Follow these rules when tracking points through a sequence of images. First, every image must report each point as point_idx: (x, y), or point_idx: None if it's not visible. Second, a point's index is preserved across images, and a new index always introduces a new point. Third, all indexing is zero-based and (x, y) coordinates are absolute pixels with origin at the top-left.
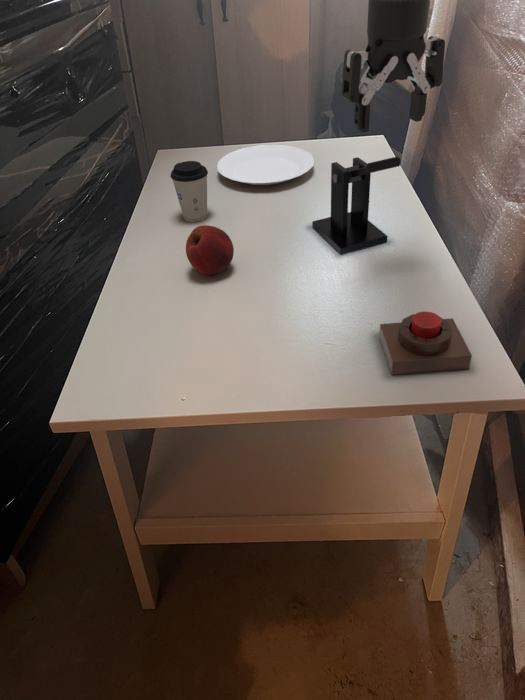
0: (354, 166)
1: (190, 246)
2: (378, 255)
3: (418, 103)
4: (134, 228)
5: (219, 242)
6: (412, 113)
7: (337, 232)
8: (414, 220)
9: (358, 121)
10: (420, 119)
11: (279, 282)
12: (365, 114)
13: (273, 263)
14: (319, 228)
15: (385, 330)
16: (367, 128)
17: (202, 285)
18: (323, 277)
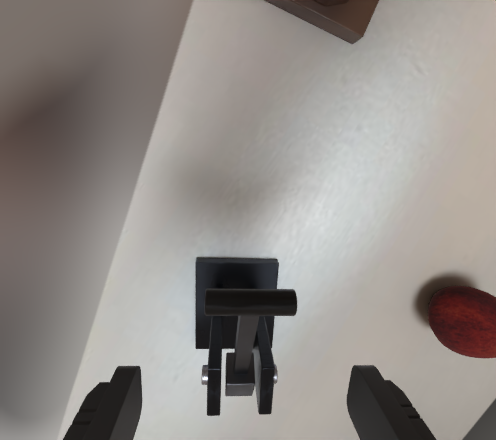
0: (237, 383)
1: None
2: (229, 231)
3: (114, 434)
4: (465, 432)
5: (480, 312)
6: (135, 413)
7: None
8: (120, 293)
9: (410, 407)
10: (124, 367)
11: (387, 235)
12: (409, 422)
13: (367, 281)
14: (273, 326)
15: (366, 16)
16: (367, 371)
17: (470, 276)
18: (330, 218)
